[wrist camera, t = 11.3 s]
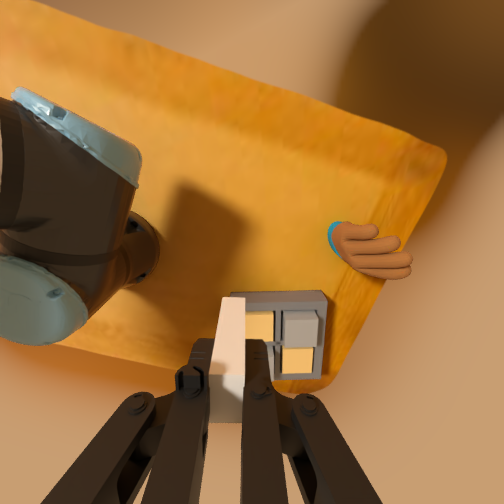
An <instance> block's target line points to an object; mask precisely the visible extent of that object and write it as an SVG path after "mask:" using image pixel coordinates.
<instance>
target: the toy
mask: <svg viewBox="0 0 504 504" xmlns="http://www.w3.org/2000/svg"><path fill="white" fill-rule="evenodd" d="M378 233H379V230H378V227H377V226H376V225H374V224H366V225H354V224H352V223H350V222H339V221H338V222H334V223H332V224H331V225H330V227H329V229H328V241H329V244H330V246H331V248H332V249H333V251H334V252H335V253H336V254H337V255H338V256H339V257H340V258H342V259H343V260H344V261H345V262H347V263H348V264H350V265H351V267H352V268H354V269H355V270H357V271H358V272H361V273H364V274H367V275H370V276H374V277H377V278H382V279H402V278H405V277H407V276H408V275H410V273H411V267H410V264H411V263H412V261H413V258H412V255H411V254H410V253H408V252H394V253H388V252H392V251H395V250H397V249H398V248H399V247H400V244H401V242H400V239H399V238H398V237H397V236H388V237H384V238H379V239H372V238H375V237H376V236H377V235H378Z"/></svg>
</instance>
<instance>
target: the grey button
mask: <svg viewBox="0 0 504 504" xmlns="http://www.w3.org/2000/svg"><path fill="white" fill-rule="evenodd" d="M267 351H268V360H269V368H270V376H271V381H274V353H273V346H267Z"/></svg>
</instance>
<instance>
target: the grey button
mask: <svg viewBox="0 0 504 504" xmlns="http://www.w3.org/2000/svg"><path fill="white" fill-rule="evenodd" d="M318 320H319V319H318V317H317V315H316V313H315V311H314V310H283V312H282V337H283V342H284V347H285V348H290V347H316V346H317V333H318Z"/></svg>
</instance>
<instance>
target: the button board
mask: <svg viewBox="0 0 504 504" xmlns="http://www.w3.org/2000/svg"><path fill="white" fill-rule="evenodd" d="M230 297H240V298H245V311H273V341H268V342H265V344H266V345H267V346H273V353H274V380H295V379H321V370H322V359H323V348H324V337H325V325H326V314H327V303H328V301H327V299H326V298H325V296H324V294H323V293H322V291H321V290H308V291H265V292H231V295H230ZM283 310H314V311H315V313H316V315H317V317H318V319H319V320H318V333H317V346H316V347H313V359H312V373H288V374H282V368H281V362H280V345H284V342H283V337H282V312H283Z"/></svg>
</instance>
